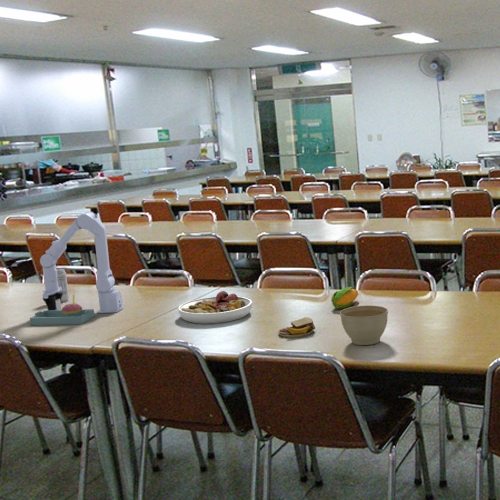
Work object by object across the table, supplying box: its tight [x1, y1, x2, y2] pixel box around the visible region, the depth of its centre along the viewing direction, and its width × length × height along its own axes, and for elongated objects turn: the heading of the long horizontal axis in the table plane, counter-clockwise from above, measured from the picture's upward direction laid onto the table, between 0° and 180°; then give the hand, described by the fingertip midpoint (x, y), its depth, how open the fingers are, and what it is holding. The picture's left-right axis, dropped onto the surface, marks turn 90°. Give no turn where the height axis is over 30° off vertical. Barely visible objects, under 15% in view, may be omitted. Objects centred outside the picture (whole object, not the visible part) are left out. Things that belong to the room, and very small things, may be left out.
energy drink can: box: [56, 268, 70, 303], centre depth 369 cm, size 6×6×15 cm
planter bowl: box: [339, 305, 389, 346], centre depth 265 cm, size 16×16×11 cm
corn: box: [330, 286, 359, 310], centre depth 318 cm, size 7×8×20 cm
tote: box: [29, 308, 95, 326], centre depth 330 cm, size 23×13×4 cm, turn 78°
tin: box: [46, 299, 62, 310], centre depth 344 cm, size 4×4×6 cm
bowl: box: [177, 290, 253, 325], centre depth 318 cm, size 30×30×8 cm
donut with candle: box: [61, 293, 83, 317], centre depth 329 cm, size 9×8×12 cm
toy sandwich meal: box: [277, 316, 316, 339], centre depth 283 cm, size 12×14×5 cm
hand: (54, 310), depth 344 cm, fingers closed on tin, 4 cm apart
